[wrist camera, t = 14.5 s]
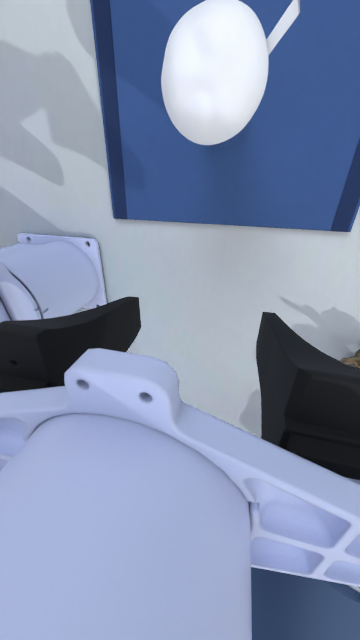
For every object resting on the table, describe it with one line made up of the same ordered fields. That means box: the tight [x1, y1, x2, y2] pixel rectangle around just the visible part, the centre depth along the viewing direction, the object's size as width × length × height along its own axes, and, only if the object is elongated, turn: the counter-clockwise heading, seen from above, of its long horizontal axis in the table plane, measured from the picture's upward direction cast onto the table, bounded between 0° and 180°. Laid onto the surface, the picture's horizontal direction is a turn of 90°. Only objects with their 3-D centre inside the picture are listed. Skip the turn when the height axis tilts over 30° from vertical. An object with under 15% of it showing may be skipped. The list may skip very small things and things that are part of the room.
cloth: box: [90, 0, 360, 232], centre depth 17 cm, size 20×14×1 cm
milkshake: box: [161, 0, 300, 149], centre depth 13 cm, size 4×5×10 cm
